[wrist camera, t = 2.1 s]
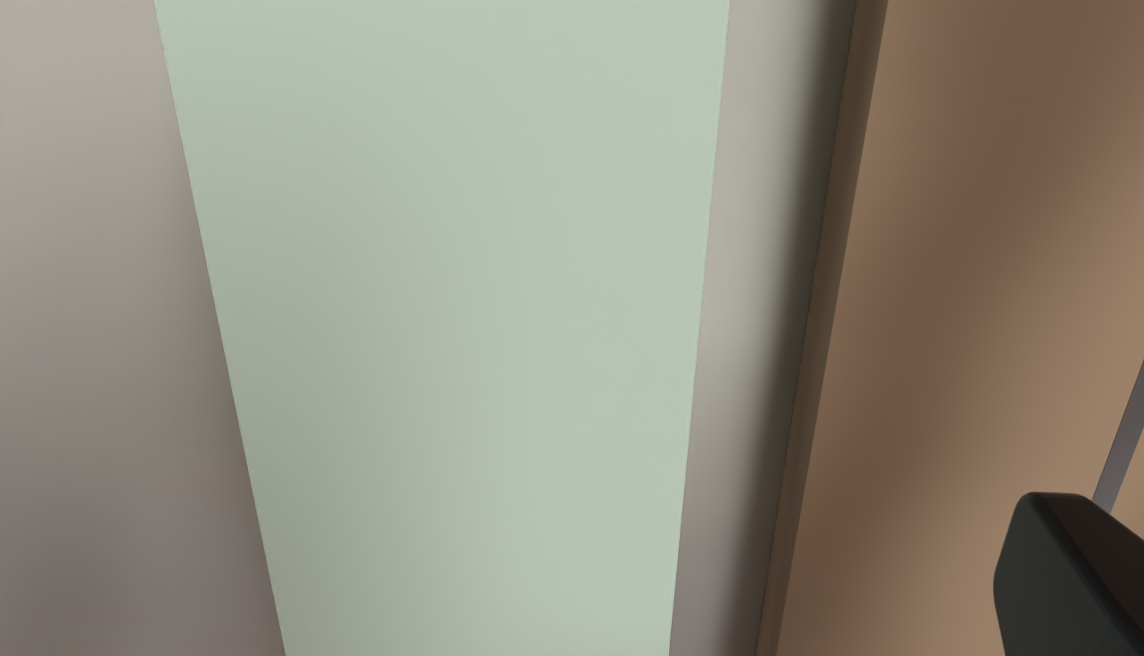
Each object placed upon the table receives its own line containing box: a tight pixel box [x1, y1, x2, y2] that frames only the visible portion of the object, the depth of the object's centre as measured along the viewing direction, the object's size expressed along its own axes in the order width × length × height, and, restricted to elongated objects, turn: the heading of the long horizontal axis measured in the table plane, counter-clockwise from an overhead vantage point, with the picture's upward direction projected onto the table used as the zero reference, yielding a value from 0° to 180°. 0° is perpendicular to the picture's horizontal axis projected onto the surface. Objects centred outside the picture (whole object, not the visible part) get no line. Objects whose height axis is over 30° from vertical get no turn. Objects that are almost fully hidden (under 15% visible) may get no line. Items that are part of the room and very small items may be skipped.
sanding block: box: [153, 0, 730, 656], centre depth 11 cm, size 4×12×6 cm, turn 179°
